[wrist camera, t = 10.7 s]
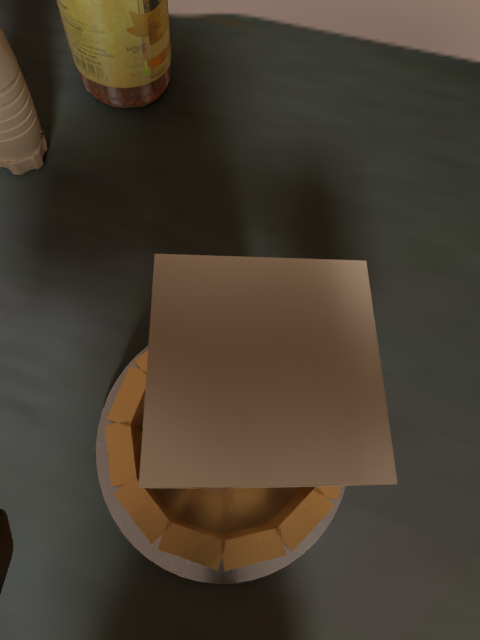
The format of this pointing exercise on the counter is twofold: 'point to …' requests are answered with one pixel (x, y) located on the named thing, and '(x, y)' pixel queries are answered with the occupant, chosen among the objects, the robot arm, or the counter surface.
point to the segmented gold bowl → (200, 505)
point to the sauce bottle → (119, 48)
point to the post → (263, 376)
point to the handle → (17, 118)
